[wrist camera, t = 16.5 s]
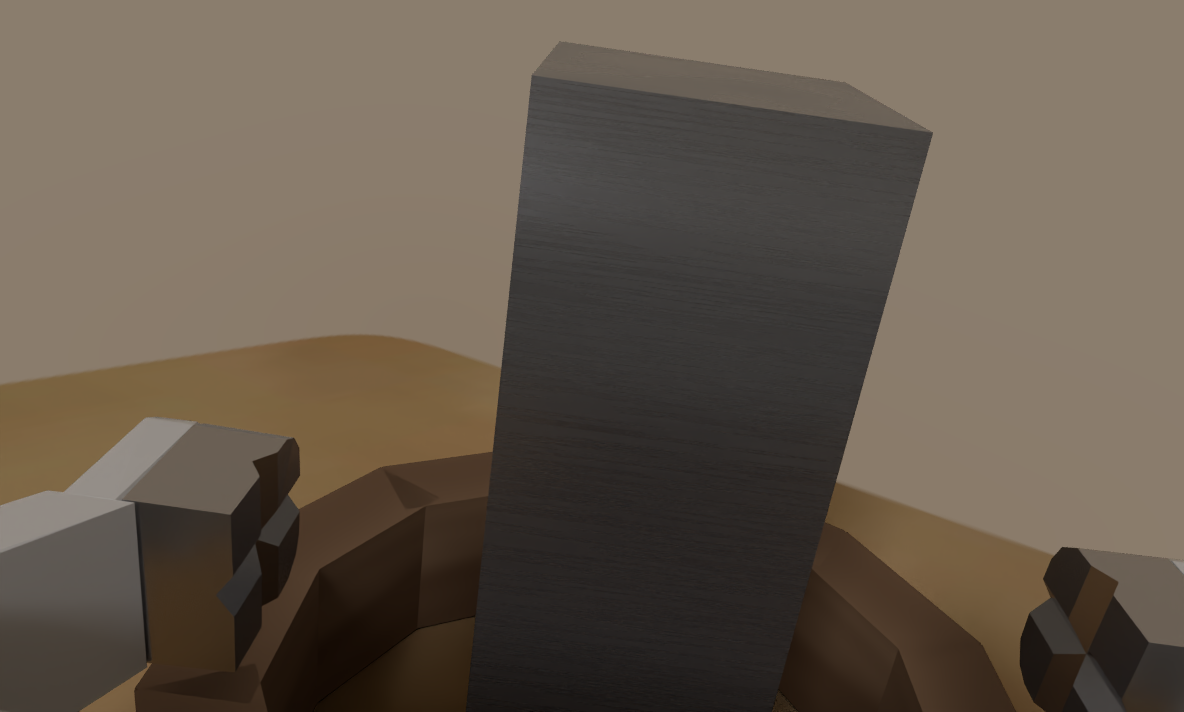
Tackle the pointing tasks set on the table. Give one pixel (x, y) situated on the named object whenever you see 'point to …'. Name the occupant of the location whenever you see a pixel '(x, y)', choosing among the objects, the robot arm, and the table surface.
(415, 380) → the table surface
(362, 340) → the table surface
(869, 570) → the walnut ring
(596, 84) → the metal peg
